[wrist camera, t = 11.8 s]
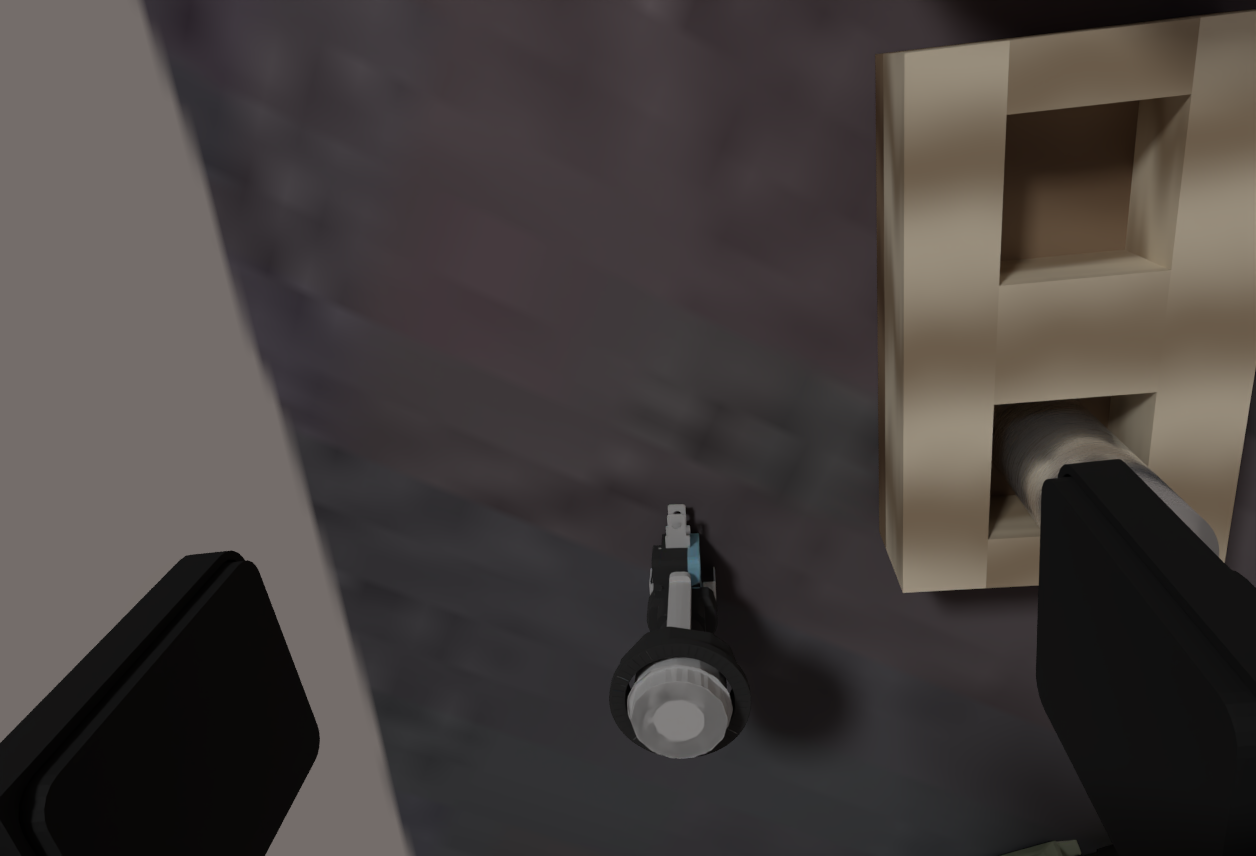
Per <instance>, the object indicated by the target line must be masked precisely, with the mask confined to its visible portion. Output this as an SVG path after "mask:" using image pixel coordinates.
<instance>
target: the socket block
mask: <svg viewBox="0 0 1256 856" xmlns="http://www.w3.org/2000/svg"><path fill="white" fill-rule="evenodd" d="M875 70H876V188H877V305H878V423H879V532H880V534H881V537H882V540H883V542H884V545H885V547H886V550H887V553H888V555H889V558H890V560H891V563H892V565H893V568H894V571H895V573H896V576H897V578H898V581H899V584H900V586H901V589H902V591H903V593H908V592H926V591H944V590H962V589H981V588H999V587H1017V586H1035V585H1039V556H1040V528H1039V527H1038V525H1037V524H1036V522H1035V521H1034V519H1033V518H1032V517H1031V515H1030V514H1029V512H1028V511H1027V509H1026V508H1025V507H1024V505H1023V504H1022V502H1021V501H1020V499H1019V498H1018V497H1017V495H1016V494H1015V492H1014V491H1013V489H1012V488H1011V487H1010V485H1009V484H1008V482H1007V481H1006V479H1005V478H1004V477H1003V475H1002V474H1001V472H1000V471H999V469H998V468H997V467H996V465H995V464H994V462H993V461H992V437H993V414H994V411H995V410H996V408H997V407H998V406H999V405H1000V404H1011V403H1024V402H1037V401H1050V400H1062V399H1075V398H1076V399H1077V400H1078V401H1079V402H1080V403H1081V404H1082V405H1083V406H1084V407H1085V408H1086V409H1087V410H1088V411H1089V412H1090V413H1091V414H1093V415H1094V416H1095V417H1096V418H1097V419H1098V420H1099V421H1100V422H1101V423H1102V424H1103V425H1104V426H1105V427H1106V428H1107V429H1108V430H1110V431H1111V432H1112V433H1113V434H1114V435H1115V436H1116V437H1117V438H1118V439H1119V440H1120V441H1121V442H1122V443H1123V444H1124V445H1125V446H1126V447H1128V448H1129V449H1130V450H1131V451H1132V452H1133V453H1134V454H1135V455H1136V456H1137V457H1138V458H1139V459H1140V460H1141V461H1142V462H1143V463H1145V464H1146V465H1147V466H1148V467H1149V468H1150V469H1151V470H1152V471H1153V472H1154V473H1155V474H1156V475H1157V476H1158V477H1159V478H1160V479H1161V480H1163V481H1164V482H1165V483H1166V484H1167V485H1168V486H1169V487H1170V488H1171V489H1172V490H1173V491H1174V492H1175V493H1176V494H1177V495H1178V496H1180V497H1181V498H1182V499H1183V500H1184V501H1185V502H1186V503H1187V504H1188V505H1189V506H1190V507H1191V508H1192V509H1193V510H1194V511H1195V512H1197V513H1198V514H1199V515H1200V516H1201V517H1202V518H1203V519H1204V520H1205V521H1206V522H1207V523H1208V524H1209V525H1210V527H1211V528H1212V529H1213V531H1214V533H1215V535H1216V537H1217V540H1218V544H1219V558H1220V559H1221V560H1222V561H1223V562H1224V563H1225V557H1226V551H1227V544H1228V538H1229V532H1230V525H1231V519H1232V513H1233V507H1234V500H1235V494H1236V488H1237V481H1238V475H1239V469H1240V463H1241V456H1242V450H1243V444H1244V438H1245V431H1246V425H1247V419H1248V412H1249V406H1250V400H1251V394H1252V387H1253V381H1254V375H1255V368H1256V9H1253V10H1242V11H1231V12H1221V13H1212V14H1204V15H1196V16H1188V17H1179V18H1171V19H1163V20H1154V21H1146V22H1138V23H1130V24H1121V25H1113V26H1105V27H1097V28H1088V29H1080V30H1072V31H1064V32H1055V33H1047V34H1039V35H1031V36H1022V37H1014V38H1006V39H997V40H989V41H981V42H973V43H964V44H956V45H948V46H940V47H931V48H923V49H915V50H907V51H898V52H890V53H882V54H875Z"/></svg>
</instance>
